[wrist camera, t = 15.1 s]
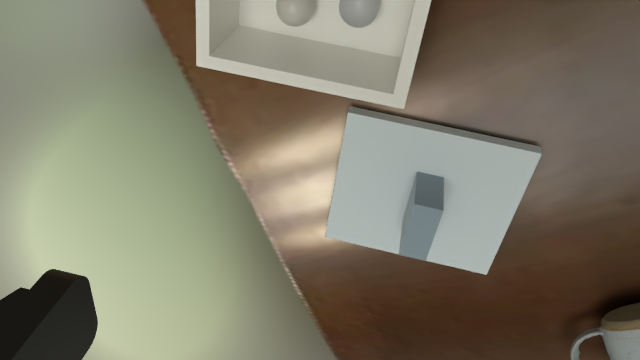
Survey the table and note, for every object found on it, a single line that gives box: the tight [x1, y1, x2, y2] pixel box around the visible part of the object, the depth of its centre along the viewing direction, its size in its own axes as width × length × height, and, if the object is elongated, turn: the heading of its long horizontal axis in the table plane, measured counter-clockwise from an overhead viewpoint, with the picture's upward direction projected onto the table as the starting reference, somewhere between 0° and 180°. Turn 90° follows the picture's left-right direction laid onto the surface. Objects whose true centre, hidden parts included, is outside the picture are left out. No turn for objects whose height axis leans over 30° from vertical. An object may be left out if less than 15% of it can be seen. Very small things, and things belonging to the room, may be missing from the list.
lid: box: [325, 106, 542, 275], centre depth 50 cm, size 17×15×7 cm
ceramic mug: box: [570, 303, 640, 360], centre depth 52 cm, size 11×8×8 cm
